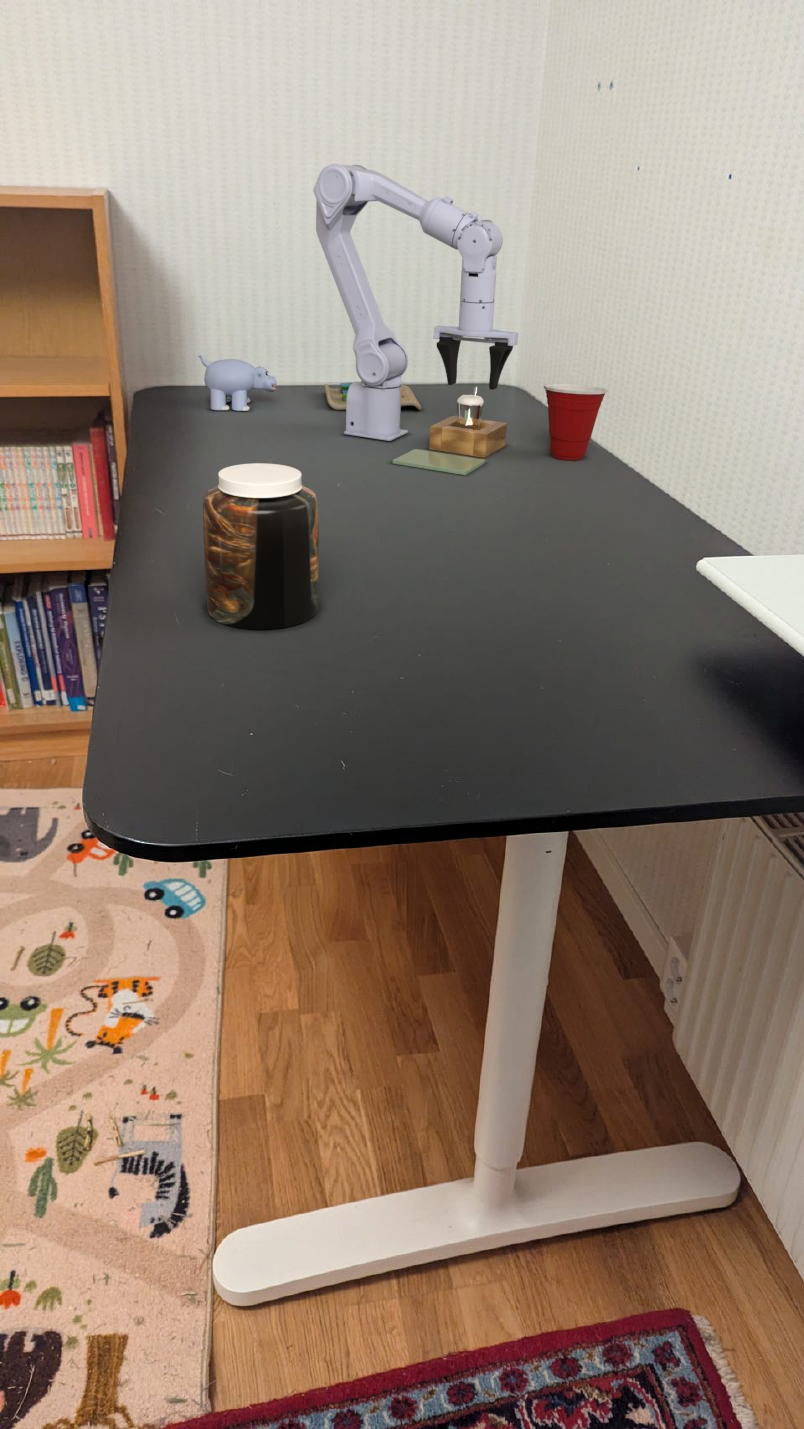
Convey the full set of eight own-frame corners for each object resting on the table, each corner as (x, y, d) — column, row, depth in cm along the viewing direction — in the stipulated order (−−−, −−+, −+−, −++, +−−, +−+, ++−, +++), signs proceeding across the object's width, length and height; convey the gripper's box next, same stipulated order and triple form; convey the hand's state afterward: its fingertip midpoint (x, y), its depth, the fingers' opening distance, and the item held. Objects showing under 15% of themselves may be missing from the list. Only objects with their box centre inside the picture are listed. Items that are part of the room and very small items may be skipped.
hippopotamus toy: (277, 412, 198) (276, 361, 193) (198, 410, 196) (196, 359, 191) (276, 401, 207) (276, 352, 203) (202, 399, 205) (200, 350, 201)
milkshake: (483, 445, 181) (488, 388, 176) (475, 452, 176) (480, 393, 172) (459, 442, 182) (463, 385, 177) (450, 449, 178) (454, 390, 173)
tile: (392, 463, 167) (392, 460, 167) (414, 452, 175) (414, 448, 174) (465, 475, 163) (465, 471, 163) (485, 463, 170) (485, 459, 170)
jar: (271, 640, 104) (269, 496, 96) (185, 613, 109) (177, 474, 102) (338, 605, 113) (340, 471, 105) (255, 582, 118) (252, 452, 111)
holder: (428, 449, 177) (430, 426, 175) (451, 437, 185) (452, 415, 183) (484, 458, 173) (486, 434, 171) (505, 445, 182) (507, 423, 180)
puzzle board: (323, 392, 216) (323, 376, 215) (411, 394, 219) (412, 378, 217) (327, 410, 201) (327, 392, 200) (422, 412, 203) (423, 394, 202)
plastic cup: (596, 450, 181) (605, 381, 176) (601, 466, 172) (611, 393, 166) (535, 446, 182) (542, 377, 176) (537, 461, 173) (544, 389, 167)
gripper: (526, 302, 168) (520, 387, 175) (446, 296, 174) (442, 378, 180) (512, 306, 163) (505, 393, 169) (429, 300, 168) (426, 384, 175)
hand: (472, 386), depth 174 cm, fingers open, 7 cm apart
